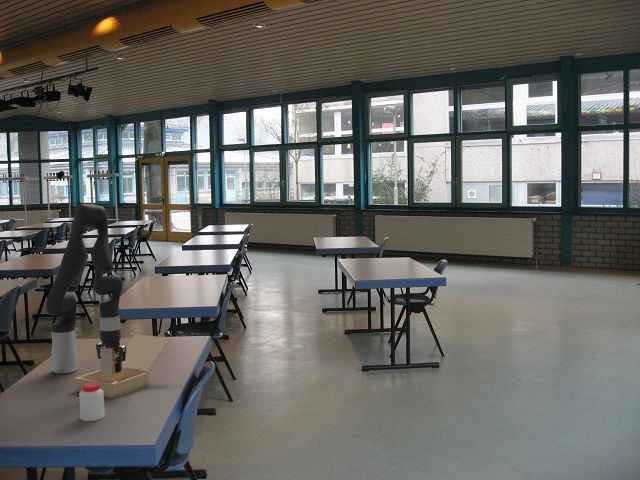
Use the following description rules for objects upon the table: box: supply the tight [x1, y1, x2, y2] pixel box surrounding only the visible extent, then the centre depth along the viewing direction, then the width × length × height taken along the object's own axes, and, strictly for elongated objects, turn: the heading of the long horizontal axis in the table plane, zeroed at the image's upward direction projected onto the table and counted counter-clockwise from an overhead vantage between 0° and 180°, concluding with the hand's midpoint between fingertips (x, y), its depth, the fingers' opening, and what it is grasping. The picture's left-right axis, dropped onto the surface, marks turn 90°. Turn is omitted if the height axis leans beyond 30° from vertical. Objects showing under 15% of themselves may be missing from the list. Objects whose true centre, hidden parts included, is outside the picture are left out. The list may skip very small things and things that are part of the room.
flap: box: [122, 333, 172, 373], centre depth 270 cm, size 19×17×1 cm
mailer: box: [74, 368, 150, 399], centre depth 257 cm, size 20×18×5 cm
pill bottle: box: [78, 383, 106, 422], centre depth 224 cm, size 8×8×11 cm
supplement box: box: [100, 348, 123, 383], centre depth 256 cm, size 8×5×13 cm, turn 168°
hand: (112, 371), depth 256 cm, fingers closed on supplement box, 5 cm apart
